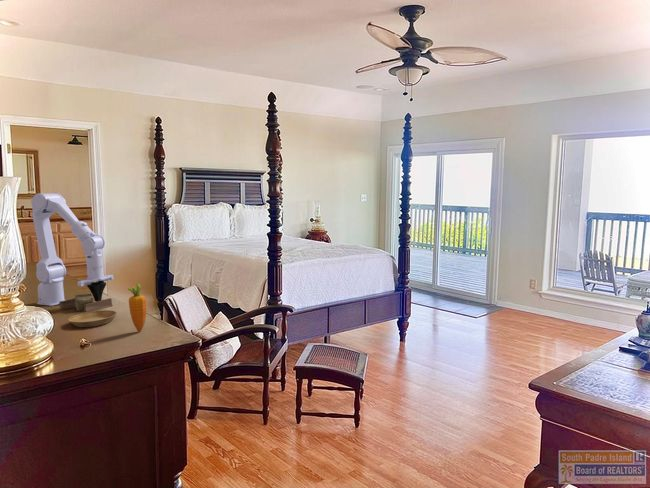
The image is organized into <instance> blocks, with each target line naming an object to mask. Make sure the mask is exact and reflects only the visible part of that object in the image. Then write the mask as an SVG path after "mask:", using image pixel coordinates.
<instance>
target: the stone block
mask: <svg viewBox="0 0 650 488" xmlns="http://www.w3.org/2000/svg"><path fill="white" fill-rule="evenodd" d="M74 298H75V305H76V306H75V309H76V311H77V312H85V310H84V305H85V304H89V303H93V302H94V297H93V295H92V293H85V294H83V293H82V294H75V295H74Z"/></svg>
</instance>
